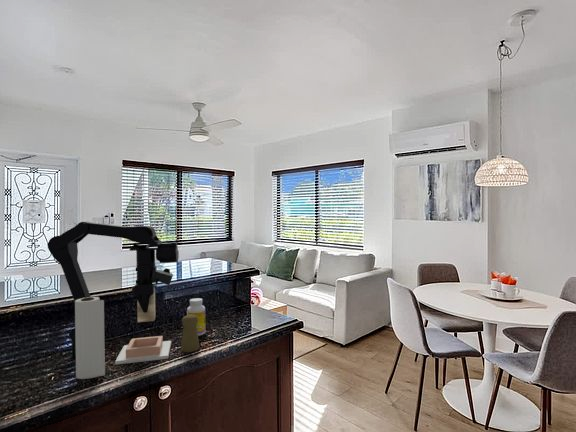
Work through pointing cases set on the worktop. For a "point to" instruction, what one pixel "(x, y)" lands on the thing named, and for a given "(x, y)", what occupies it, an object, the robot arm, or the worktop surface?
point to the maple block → (150, 313)
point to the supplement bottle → (198, 314)
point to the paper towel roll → (89, 337)
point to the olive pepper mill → (190, 334)
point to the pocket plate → (144, 350)
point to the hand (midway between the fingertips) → (146, 310)
